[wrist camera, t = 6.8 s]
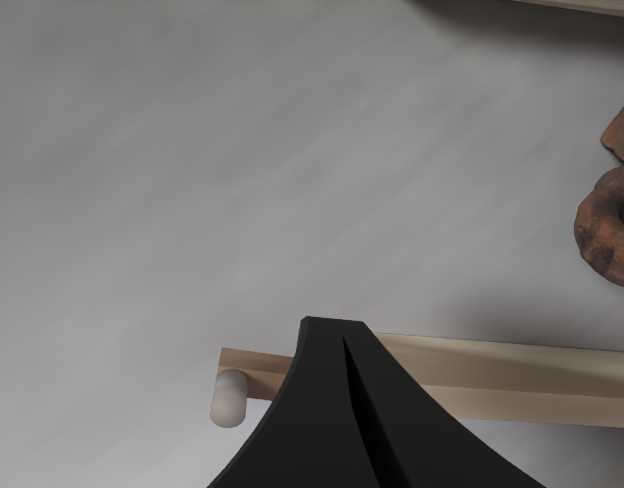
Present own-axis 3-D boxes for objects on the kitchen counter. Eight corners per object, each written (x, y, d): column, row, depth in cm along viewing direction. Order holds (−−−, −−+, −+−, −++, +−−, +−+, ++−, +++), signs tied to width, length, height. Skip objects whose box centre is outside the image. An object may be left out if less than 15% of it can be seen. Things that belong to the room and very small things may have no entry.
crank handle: (349, 362, 23) (360, 415, 20) (342, 388, 23) (351, 443, 20) (222, 345, 22) (212, 397, 19) (218, 372, 23) (207, 426, 19)
